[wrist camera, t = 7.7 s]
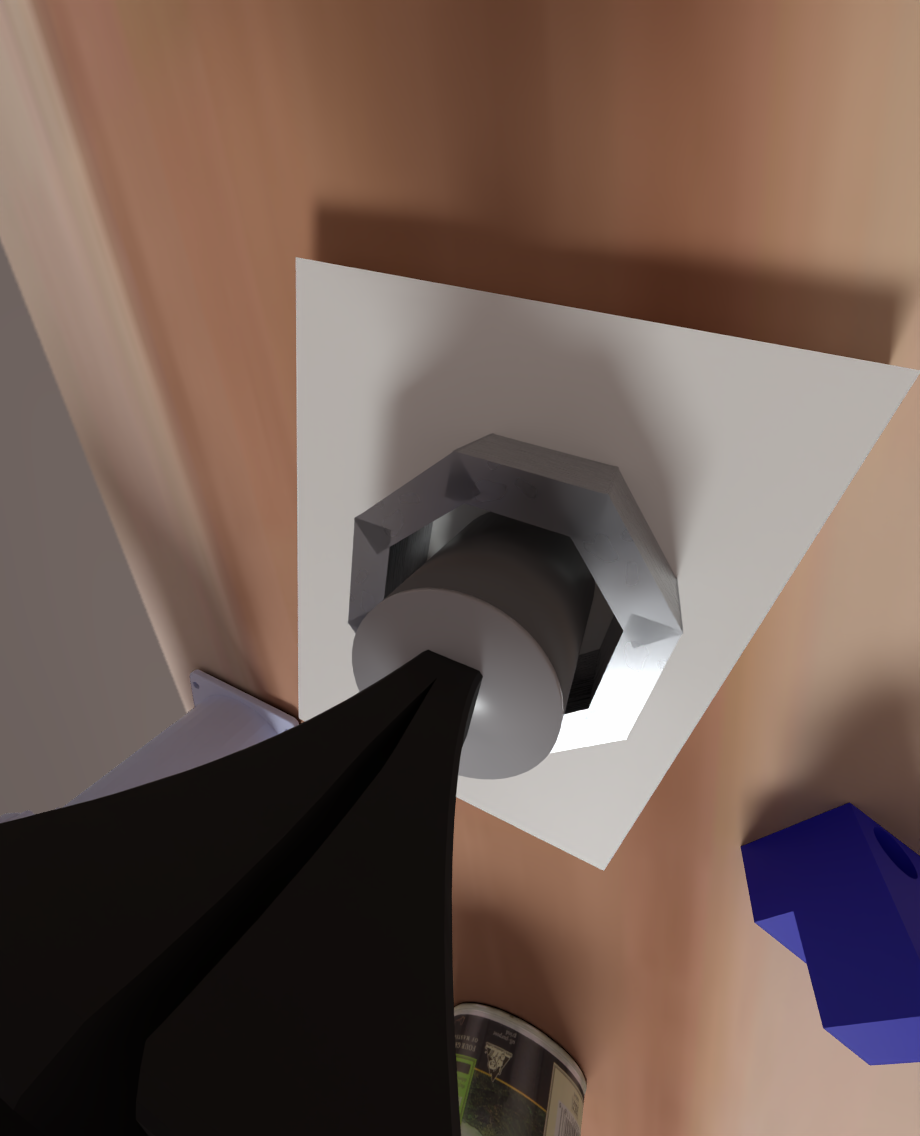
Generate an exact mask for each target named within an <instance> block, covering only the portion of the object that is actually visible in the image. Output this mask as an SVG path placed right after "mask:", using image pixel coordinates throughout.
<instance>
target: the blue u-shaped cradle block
mask: <svg viewBox="0 0 920 1136" xmlns="http://www.w3.org/2000/svg"><path fill="white" fill-rule="evenodd" d="M741 851H742V857H743V862H744V868H745V873H746V879H747V884H748V890H749V895H750V901H751V906H752V912H753V917H754V922H755V923H756V924H757V925H758V926H760V927H761V928H762V929H763V930H765V931H766V932H767V933H769V934H770V935H771V936H772V937H774V938H775V939H776V940H777V941H779V942H780V943H781V944H782V945H784V946H785V947H786V948H787V949H789V950H790V951H791V952H792V953H794V954H795V955H796V956H798V957H799V958H800V959H801V960H803V961H804V962H805V963H806V964H807V966H808V970H809V974H810V978H811V982H812V986H813V990H814V994H815V998H816V1001H817V1005H818V1009H819V1013H820V1017H821V1021H822V1025H823V1028H824V1029H825V1030H826V1031H828V1032H829V1033H830V1034H831V1035H833V1036H834V1037H835V1038H836V1039H838V1040H839V1041H840V1042H841V1043H843V1044H844V1045H845V1046H846V1047H848V1048H849V1049H850V1050H851V1051H853V1052H854V1053H855V1054H856V1055H858V1056H859V1057H860V1058H861V1059H863V1060H864V1061H865V1062H866V1063H868V1064H869V1065H883V1064H898V1063H912V1062H920V856H919V855H918V854H916V853H915V852H914V851H913V850H911V849H910V848H909V847H907V846H906V845H905V844H903V843H902V842H901V841H899V840H898V839H897V838H896V837H894V836H893V835H892V834H890V833H889V832H888V831H886V830H885V829H884V828H882V827H881V826H880V825H879V824H877V823H876V822H875V821H873V820H872V819H871V818H869V817H868V816H867V815H865V814H864V813H863V812H862V811H860V810H859V809H858V808H856V807H855V806H854V805H852V804H851V803H850V802H849V803H847V804H844V805H842V806H839V807H837V808H834V809H832V810H830V811H827V812H825V813H822V814H820V815H817V816H815V817H812V818H810V819H807V820H805V821H802V822H800V823H798V824H795V825H793V826H790V827H788V828H785V829H783V830H780V831H778V832H775V833H773V834H770V835H768V836H766V837H763V838H761V839H758V840H756V841H753V842H751V843H748V844H746V845H743V846H741Z"/></svg>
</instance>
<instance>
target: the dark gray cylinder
mask: <svg viewBox="0 0 920 1136" xmlns="http://www.w3.org/2000/svg"><path fill="white" fill-rule="evenodd" d="M594 590H595V580H594V578H593V576H592V574H591V572H590V571H589V569H588V567H587V565H586V564H585V562H584V560H583V558H582V557H581V555H580V553H579V551H578V550H577V548H576V546H575V544H574V542H573V541H572V539H571V537H570V536H567V535H563V534H560V533H557V532H554V531H551V530H548V529H544V528H541V527H538V526H535V525H532V524H528V523H525V522H522V521H519V520H516V519H513V518H509V517H506V516H503V515H500V514H497V513H494V512H487V513H485V514H483V515H481V516H479V517H477V518H476V519H474V520H473V521H471V522H470V523H469V524H468V525H467V526H466V527H465V528H464V529H462V530H461V531H460V532H459V533H458V534H457V535H456V536H455V537H453V538H452V539H451V540H450V541H449V542H448V543H447V544H446V545H444V546H443V547H442V548H441V549H440V550H439V551H438V552H437V553H435V554H434V555H433V556H432V557H431V558H430V559H429V560H428V561H426V562H425V563H424V564H423V565H422V566H421V567H420V568H419V569H417V570H416V571H415V572H414V573H413V574H412V575H411V576H410V577H408V578H407V579H406V580H405V581H404V582H403V583H402V584H401V585H399V586H398V587H397V588H396V589H395V590H394V591H393V592H392V593H390V594H389V595H388V596H387V597H386V598H385V599H384V600H383V601H381V602H380V603H379V604H378V605H377V606H376V607H375V608H373V609H372V610H371V611H370V612H369V613H368V614H367V615H366V617H365V618H364V619H363V620H362V622H361V624H360V625H359V627H358V629H357V631H356V634H355V638H354V641H353V647H352V666H353V673H354V677H355V681H356V684H357V687H358V689H359V692H360V691H362V690H364V689H365V688H367V687H369V686H370V685H372V684H374V683H376V682H377V681H379V680H380V679H382V678H384V677H385V676H387V675H388V674H390V673H392V672H393V671H395V670H396V669H398V668H399V667H401V666H402V665H404V664H405V663H407V662H408V661H410V660H411V659H413V658H414V657H416V656H417V655H419V654H420V653H422V652H423V651H426V650H430V651H433V652H435V653H438V654H440V655H443V656H445V657H447V658H450V659H452V660H455V661H457V662H459V663H462V664H464V665H467V666H469V667H472V668H474V669H477V670H479V671H480V673H481V674H482V676H483V678H482V682H481V686H480V689H479V693H478V697H477V700H476V704H475V708H474V712H473V715H472V719H471V723H470V726H469V730H468V734H467V737H466V739H465V742H464V744H463V747H462V751H461V757H460V765H459V772H458V775H460V776H464V777H468V778H475V779H492V780H493V779H504V778H509V777H513V776H517V775H520V774H522V773H525V772H527V771H529V770H531V769H532V768H534V767H536V766H537V765H538V764H540V763H541V762H542V761H543V760H544V759H545V758H546V757H547V756H548V755H549V753H550V752H551V751H552V749H553V747H554V745H555V744H556V742H557V739H558V736H559V733H560V730H561V726H562V721H563V717H564V713H565V709H566V705H567V701H568V697H569V693H570V689H571V685H572V681H573V677H574V673H575V669H576V665H577V661H578V657H579V653H580V649H581V645H582V641H583V637H584V633H585V629H586V625H587V621H588V617H589V613H590V609H591V605H592V601H593V597H594Z"/></svg>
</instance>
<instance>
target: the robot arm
mask: <svg viewBox="0 0 920 1136" xmlns="http://www.w3.org/2000/svg"><path fill="white" fill-rule="evenodd" d="M482 678H483V676H482V674H481V673H480V671H479V670H477V669H474V668H472V667H469V666H467V665H464V664H462V663H459V662H457V661H455V660H452V659H450V658H447V657H445V656H443V655H440V654H438V653H435V652H433V651H430V650H426V651H423V652H422V653H420V654H419V655H417V656H416V657H414V658H413V659H411V660H410V661H408V662H407V663H405V664H404V665H402V666H401V667H399V668H398V669H396V670H395V671H393V672H392V673H390V674H388V675H387V676H385V677H384V678H382V679H380V680H379V681H377V682H376V683H374V684H372V685H370V686H369V687H367V688H365V689H364V690H362V691H360V692H359V693H357V694H355V695H354V696H352V697H350V698H348V699H347V700H345V701H343V702H341V703H339V704H338V705H336V706H334V707H332V708H330V709H328V710H326V711H324V712H322V713H321V714H319V715H317V716H315V717H313V718H311V719H309V720H307V721H305V722H303V723H301V724H299V723H298V721H297V720H296V719H295V718H294V717H293V716H291V715H289V714H287V713H285V712H283V711H281V710H279V709H277V708H275V707H273V706H271V705H269V704H267V703H265V702H263V701H261V700H259V699H257V698H255V697H253V696H251V695H249V694H247V693H245V692H243V691H241V690H239V689H237V688H235V687H233V686H231V685H229V684H227V683H225V682H223V681H221V680H219V679H217V678H215V677H213V676H211V675H209V674H207V673H205V672H203V671H201V670H198V669H196V670H194V671H192V672H191V673H190V682H191V687H192V693H193V699H194V705H195V707H194V708H193V709H192V710H190V711H189V712H188V713H187V714H185V715H184V716H183V717H181V718H180V719H179V720H177V721H176V722H175V723H173V724H172V725H171V726H169V727H168V728H167V729H166V730H164V731H163V732H161V733H160V734H159V735H157V736H156V737H155V738H153V739H152V740H151V741H149V742H148V743H147V744H146V745H144V746H143V747H142V748H140V749H139V750H138V751H136V752H135V753H134V754H132V755H131V756H130V757H128V758H127V759H126V760H125V761H123V762H122V763H121V764H119V765H118V766H117V767H115V768H114V769H112V770H111V771H110V772H108V773H107V774H106V775H105V776H103V777H102V778H101V779H99V780H98V781H97V782H95V783H94V784H93V785H92V786H90V787H89V788H88V789H86V790H85V791H83V792H82V793H81V794H79V795H78V796H77V797H76V798H74V799H73V800H72V801H70V802H69V803H68V804H66V805H65V806H64V807H62V808H56V809H55V810H51V811H48V812H43V813H40V814H36V815H35V814H34V813H33V812H32V811H30V810H27V811H24V812H22V813H6V814H3V815H1V816H0V1136H461V1126H460V1112H459V1097H458V1080H457V1062H456V1045H455V1023H454V997H453V968H452V856H453V833H454V816H455V803H456V792H457V782H458V772H459V765H460V757H461V751H462V747H463V744H464V742H465V739H466V737H467V734H468V730H469V726H470V723H471V719H472V715H473V712H474V708H475V704H476V700H477V697H478V693H479V689H480V686H481V682H482Z"/></svg>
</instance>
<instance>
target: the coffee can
mask: <svg viewBox="0 0 920 1136" xmlns="http://www.w3.org/2000/svg"><path fill="white" fill-rule="evenodd" d="M454 1023H455V1045H456V1062H457V1080H458V1097H459V1112H460V1126H461V1136H580V1135H581V1124H582V1114H583V1105H584V1095H585V1092H586V1084H587V1083H586V1081H585V1078H584V1076H583V1073H582V1071H581V1070H580V1068H579V1066H578V1065H577V1064H576V1062H575V1061H574V1060H573V1059H572V1058H571V1057H570V1056H569V1055H568V1054H567V1053H566V1052H565V1051H564V1050H563V1049H562V1048H561V1047H560V1046H559V1045H558V1044H557V1043H555V1042H554V1041H553V1040H551V1039H550V1038H549V1037H548V1036H546V1035H545V1034H543V1033H542V1032H541V1031H539V1030H538V1029H536V1028H535V1027H533V1026H532V1025H530V1024H528V1023H526V1022H525V1021H523V1020H521V1019H519V1018H517V1017H515V1016H513V1015H511V1014H509V1013H507V1012H505V1011H502V1010H499V1009H496V1008H493V1007H490V1006H486V1005H482V1004H478V1003H462V1004H460V1005H458V1006H455V1007H454Z"/></svg>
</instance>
